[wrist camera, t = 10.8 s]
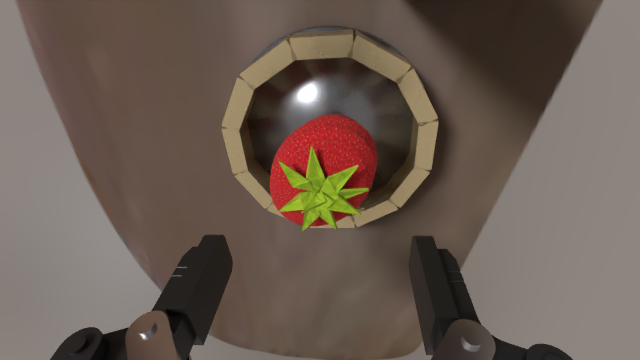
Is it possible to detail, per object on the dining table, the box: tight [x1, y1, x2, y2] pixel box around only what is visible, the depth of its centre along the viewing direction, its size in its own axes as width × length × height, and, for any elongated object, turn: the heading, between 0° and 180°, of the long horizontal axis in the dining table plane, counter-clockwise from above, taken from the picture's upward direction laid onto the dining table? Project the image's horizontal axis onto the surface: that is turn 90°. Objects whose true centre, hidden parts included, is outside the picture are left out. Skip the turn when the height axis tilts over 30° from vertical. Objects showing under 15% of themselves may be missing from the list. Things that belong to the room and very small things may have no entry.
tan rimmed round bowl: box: [222, 26, 439, 228], centre depth 23 cm, size 15×15×3 cm
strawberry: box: [270, 114, 377, 232], centre depth 19 cm, size 6×8×10 cm
